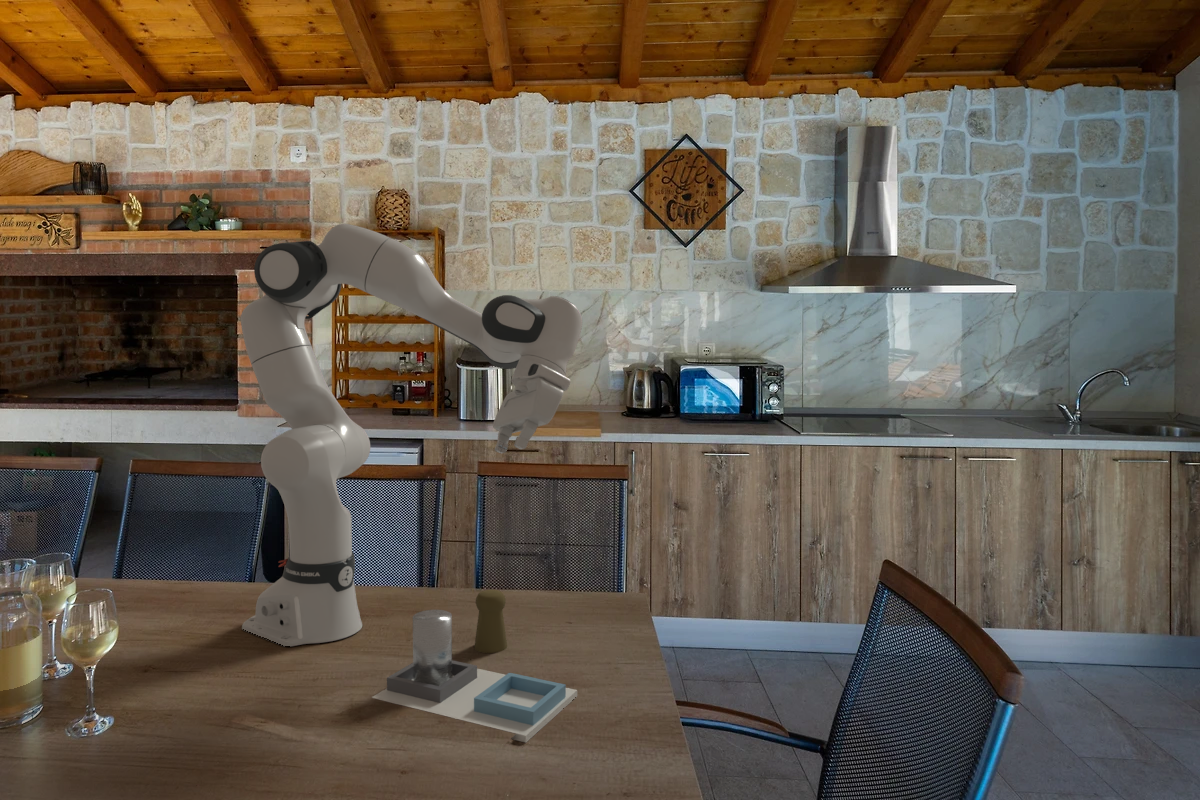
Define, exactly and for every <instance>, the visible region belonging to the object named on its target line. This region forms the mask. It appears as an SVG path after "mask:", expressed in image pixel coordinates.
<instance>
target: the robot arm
mask: <svg viewBox="0 0 1200 800" xmlns="http://www.w3.org/2000/svg"><path fill="white" fill-rule="evenodd" d="M253 272H254V278H255V280H256V281H255V282H256V283H257V286H258V287H259V289H260V290H261V291H262V292H263V293H264V295H263V296H261V298H258V299H256V300H254V301H252V302H251V303H249V304H248V305H246V306H245V307H244V309H243V310H242V312H241V314H240V325H241V331H242V336H243V341H244V345H245V349H246V353H247V356H248V359H249V361H250V364H251V367H252V369H253V373H254V375H255V378H256V381H257V384H258V386H259V389H260V391H261V394H262V397H263V400H264V402H265V403H266V405H267V406H268V407H269V408H270V409H271V410H273V411H274V412H276V413H278V414H279V415H280V416H281V417H282V418H283V419H284V421H285V422H286V423H287V424H288V425H289V427H290V428H291V429H289V430H286V431H284V432H283V433H281V434H279V435H277V436H276V437H274V438H273V439H271V440H270V441H268V443H266V445H265V446H264V448H263V450H262V452H261V455H260V457H261V458H260V466H261V470H262V473H263V475H264V477H265V479H266V480H267V481H268V482H269V484H271V485H272V486H273V487H274V488H275V489H276V490H278V492H279V495H280V496H281V500H282V502H283V504H284V507H285V512H286V516H287V522H288V537H289V538H288V541H289V556H288V557H287V558H286V559H282V560H279V561H278V563H280V564H279V565H278V568H282V567H284V569H283V573H282V576H281V577H280V578H279V579H277V580H276V581H275V582H273V584H271V585H270V586H268V587H267V588H266V589H264V591H262V592H261V593H260V595H259V596H258V598H257V600H256V605H255V615H252V616H251V617H249V618H248V619H246V620H245V621H244V622H243V623H242V625H241V630H243V629H244V630H243V631H245V630H246V631H245V632H247V631H248V632H247V633H249V632H251V633H250V634H252V633H253V635H254V634H256V635H255V636H257V635H258V636H257V637H259V636H261V637H260V638H262V637H264V638H267V639H269V640H271V641H270V642H272V641H274V642H276V643H275V644H277V643H278V644H277V645H279V644H281V645H280V646H282V645H283V646H282V647H285V646H290V647H295V646H300V645H306V644H320V643H328V642H333V641H338V640H342V639H345V638H348V637H351V636H353V635H354V634H356V633H357V632H359V631H360V630H361V629H362V627H363V622H362V620H361V616H360V615H361V614H360V610H359V607H358V601H357V600H358V599H357V595H356V587H355V581H354V580H355V578H354V577H355V573H356V568H355V567H356V566H355V564H356V560H355V553H354V552H353V546H352V545H353V540H352V539H353V538H352V537H353V534H352V533H353V532H352V530H353V529H352V514H351V512H350V510H349V509H348V508H347V507H346V506H344V505H343V503H342V500H341V497H340V495H339V492H338V489H337V488H338V486H337V480H338V479H340V478H344V477H346V476H349V475H351V474H352V473H354V472H356V471H357V470H358V469H360V467H361V466H363V465H364V464H365V462H366V461H367V460H368V459H369V456H370V452H371V441H370V437H369V435H368V433H367V432H366V430H365V429H364V428H363V427H362V426H361V425H359V424H357V423H356V422H355V421H354V420H352V419H351V418H350V417H349V415H348V413H346V412H345V410H344V409H343V407H342V406H341V404H340V402H338V400H337V399H336V397H335V395H334V394H333V393H332V391H331V389H330V388H329V386H328V383H327V382H326V380H325V377H324V375H323V371H322V370H321V369H322V368H321V366H320V364H319V361H318V359H317V357H316V354H315V352H314V349H313V345H312V344H311V342H310V341H311V340H310V339H309V335H308V334H307V330H306V326H305V321H306V320H310V319H313V318H314V316H316V315H318V314H319V313H320V312H321V311H322V310H324V309H326V308H327V307H328V306H330V305H332V303H334V302H335V301H336V299H337V298H338V297H339V295H340V294H341V290H342V285H343V284H344V285H348V286H352V287H354V288H356V289H358V290H360V291H362V292H365V293H366V294H369V295H371V296H373V297H375V298H378V299H380V300H382V301H385V302H387V303H389V304H391V305H393V306H396V307H398V308H401V309H403V310H405V311H407V312H409V313H410V314H413V315H415V316H418V317H419V318H421V319H423V320H424V321H427V322H428V323H430V324H432V325H434V326H436V327H438V328H439V329H442V330H443V331H445V332H447V333H449V334H450V335H452V336H454V337H457V338H459V339H460V340H462V341H464V342H465V343H468V345H471V346H472V347H474V348H475V349H476V350H477V351H478V352H479V353H480V354H481V355H482V357H484V359H485V360H486V361H487V362H489V364H490V365H493V366H494V367H496V368H498V369H503V370H513V369H515V370H514V372H513V373H512V374H513V375H512V376H511V379H510V381H511V383H512V385H513V386H514V387H515V388H514V390H512V391H509V392H508V393H507V395H505V397H504V399H503V400H502V403H501V405H500V407H499V410H498V411H497V412H496V413H497V414H496V415H495V418H494V420H493V422H492V423H493V425H492V428H493V429H494V430H496V431H498V432H497V440H496V441H497V443H496V444H495V447H494V451H495V452H497V453H499V454H500V455H501V454H506V452H507V450H508V448H509V447H510V446H509V442H510V438H511V437H512V435H513V434H516V433H519V434H518V436H517V437H516V439H515V442H514V444H513V446H514V447H515V448H517V449H519V450H525V449H526V448H527V446H528V444H529V441H530V439H532V437H533V436H534V434H535V432H536V431H537V429H538V428H539V427H541V426H545V425H546V426H547V425H548V424H549V423H550V422H551V421H552V420H553V418H554V416H555V415H556V413H557V410H558V408H559V406H560V403H561V402H562V399H563V396H564V394H565V393H564V392H566V391H567V390H568V389H569V387H570V385H571V383H572V382H571V379H570V378H569V377H566V373H567V366H568V363H569V361H570V359H572V358H573V356H574V353H575V351H576V348H577V346H578V343H579V339H580V336H581V333H582V328H583V317H582V314H581V312H580V310H579V309H578V307H577V306H576V305H575V304H574V303H573V302H571V301H570V300H568V299H566V298H564V297H562V296H561V297H560V296H557V295H552V296H547V297H545V298H536V299H535V298H534V299H531V298H521V297H518V296H516V295H510V294H504V295H500V296H496V297H494V298H493V299H491V300H489V302H487V304H486V305H485V306H484V308H483V310H482V313H481V312H479V311H477V310H476V309H474V308H472V307H471V306H468V305H467V304H465V303H463V302H461V301H459V300H457V299H456V298H454V297H453V296H451V295H450V294H449V293H448V292H447V291H445V289H444V287H442V285H441V284H440V282H439V281H438V280H437V278H436V277H435V275H434V274H433V271H432V270H431V267H430V266H429V265H428V263H427V261H426V259H425V258H424V257H423V256H422V255H420V254H419V253H418V252H416V251H415V250H414V249H412V248H411V247H409V246H407V245H406V244H404V243H402V242H401V241H398V240H397V239H394V238H392V237H389V236H387V235H385V234H382V233H380V232H377V231H374V230H372V229H369V228H366V227H363V226H358V225H355V224H350V223H339V224H337V225H335V226H332V227H331V229H330V230H328V232H327V233H326V235H324V237H323V239H322V241H321V243H319V244H318V245H317V244H316V243H315V242H313V240H303V241H293V242H292V241H291V242H290V241H288V242H286V241H285V242H278V243H275V244H272V245H269V246H268V247H266V248H264V249H263V250H262V251H261V252H260V254H259V255H258V256H257V258H256V260H255V263H254V267H253ZM264 638H263V639H264ZM267 639H266V640H267ZM269 640H268V641H269ZM274 642H273V643H274Z"/></svg>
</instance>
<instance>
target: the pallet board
mask: <svg viewBox="0 0 1200 800" xmlns="http://www.w3.org/2000/svg"><path fill="white" fill-rule="evenodd" d="M566 685H567V684H564V683H560V682H555V681H550V680H545V679H541V678H537V677H531V676H527V675H522V674H518V673H512V672H508V673H506V674H504V673H499V672H495V671H491V670H490V671H489V670H486V669H480V668H478V665H476V664H471V663H466V662H461V661H457V660H453V659H452V678H451V679H449V680H448V681H446V682H445V683H443V684H442V685H440V686H435V685H431V684H426V683H422V682H418V681H413V662H412V663H410V664H408V665H406V666H405V667H403V668H401V669H400V670H398V671H396V672H395V673H393V674H391V675H389V676H387V677H386V688H385V689H383V690H381V691H380V692H378V693H377V694H375V695H373V696H371V699H376V700H380V701H383V702H387V703H390V704H391V703H392V704H395V705H399V706H403V707H408V708H412V709H415V710H420V711H422V712H426V713H427V712H428V713H432V714H436V715H440V716H445V717H448V718H451V719H456V720H460V721H464V722H468V723H471V724H476V725H479V726H480V725H481V726H484V727H488V728H492V729H497V730H500V731H503V732H508V733H512V734H514V735H513V736H512V737H511V738H510V740H514V741H517V742H522V743H528V741H529V740H531V739H532V738H534V736H535V735H536V734H537V733H538V732H540V730H542V729H543V728H544V727H546V725H548V724H549V723H550V722H551V721H552V720H553V719H554V718H555V717H557V715H558V714H559V713H561V712H562V711H563V710H564V709H565V708H566V707H567V706H568V705H569V704H570V703H571V702H573V701H574V700H575V699H576V698H577V697H578V690H577V689H573V688H569V687H566ZM575 697H576V698H575ZM573 699H574V700H573ZM572 700H573V701H572ZM563 708H564V709H563Z"/></svg>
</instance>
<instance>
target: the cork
mask: <svg viewBox="0 0 1200 800" xmlns="http://www.w3.org/2000/svg"><path fill="white" fill-rule="evenodd" d="M506 603H507V599H506V595H505V594H504V592H503V591H501V590H498V589H483V590H482V591H480V592H479V593H478V594H477V596H476V598H475V605H476V608H477V610H478V615H477V624H476V632H475V638H474V639H475V641H474V650H475V651H476V652H479V653H482V654H495V653H500V652H504V651H505V650H506V649H507V648H508V642H507V641H508V639H507V634H506V625H505V618H504V612H503V610H504V608H505V606H506Z"/></svg>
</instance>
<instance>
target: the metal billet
mask: <svg viewBox="0 0 1200 800" xmlns="http://www.w3.org/2000/svg"><path fill="white" fill-rule="evenodd" d="M452 618H453V616H452V613H451V612H450V611H447V610H443V609H427V610H422V611H419V612H416V613H414V614H413V616H412V663H413V681H418V682H422V683H426V684H431V685H435V686H440V685H442V684H443V683H445V682H446V681H448V680H449V679H451V678H452V660H453V619H452Z"/></svg>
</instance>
